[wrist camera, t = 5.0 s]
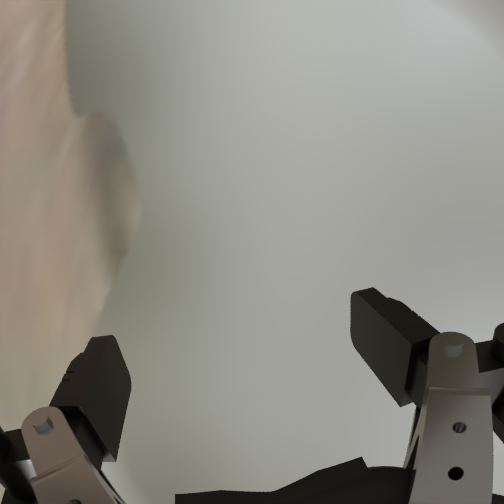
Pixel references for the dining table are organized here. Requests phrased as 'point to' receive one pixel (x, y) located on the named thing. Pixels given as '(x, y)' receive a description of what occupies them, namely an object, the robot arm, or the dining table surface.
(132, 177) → the dining table surface
